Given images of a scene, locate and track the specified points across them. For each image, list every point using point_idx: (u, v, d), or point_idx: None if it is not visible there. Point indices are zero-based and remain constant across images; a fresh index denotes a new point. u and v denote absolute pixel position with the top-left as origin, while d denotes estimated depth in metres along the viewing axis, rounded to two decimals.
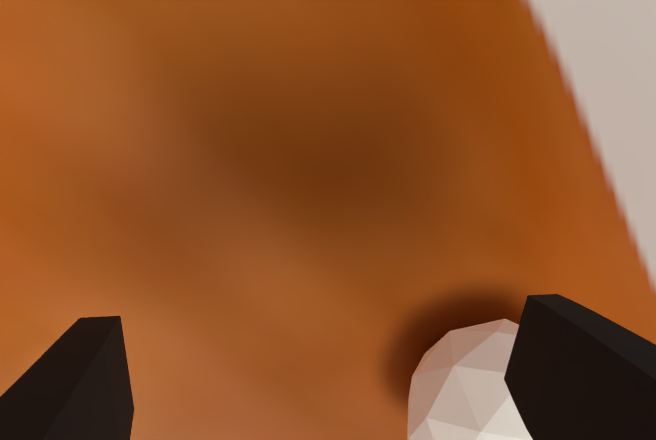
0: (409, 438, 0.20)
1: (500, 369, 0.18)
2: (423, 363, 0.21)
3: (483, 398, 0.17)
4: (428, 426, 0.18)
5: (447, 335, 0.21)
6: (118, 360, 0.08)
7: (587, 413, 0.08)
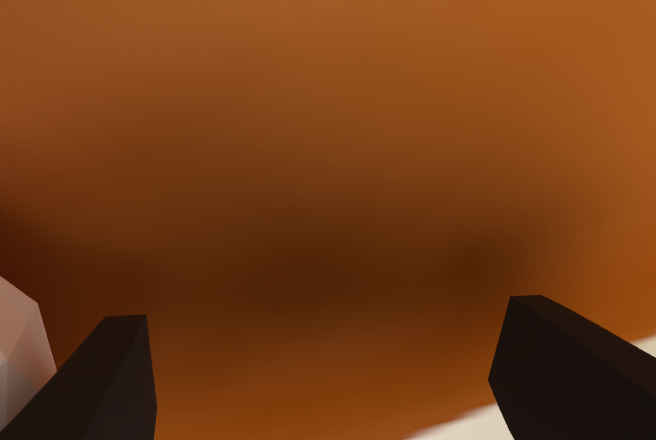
0: None
1: None
2: None
3: None
4: None
5: (31, 302, 0.09)
6: (144, 358, 0.08)
7: (567, 415, 0.08)
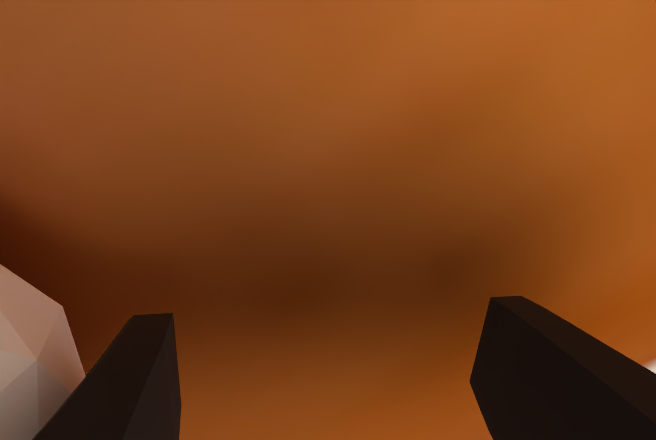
0: None
1: None
2: None
3: None
4: None
5: (56, 305, 0.09)
6: (172, 356, 0.08)
7: (544, 417, 0.08)
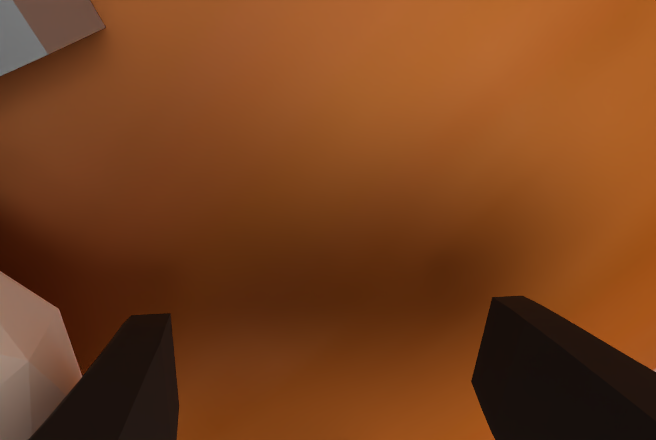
0: None
1: None
2: None
3: None
4: None
5: (51, 307, 0.09)
6: (169, 357, 0.08)
7: (546, 417, 0.08)
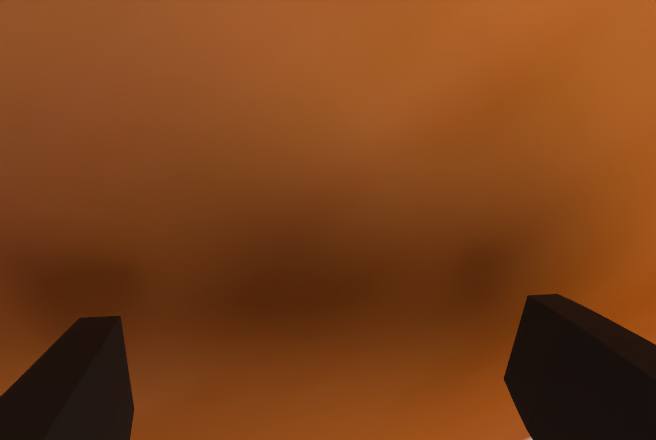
0: None
1: None
2: None
3: None
4: None
5: None
6: (118, 360, 0.08)
7: (587, 413, 0.08)
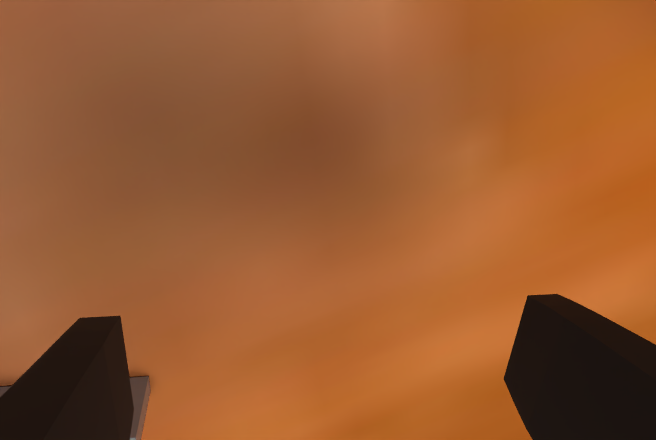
0: None
1: None
2: None
3: None
4: None
5: None
6: (118, 360, 0.08)
7: (587, 413, 0.08)
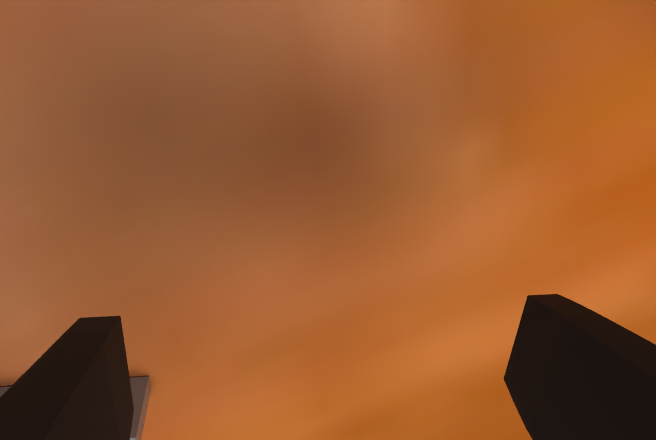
0: None
1: None
2: None
3: None
4: None
5: None
6: (118, 360, 0.08)
7: (587, 413, 0.08)
